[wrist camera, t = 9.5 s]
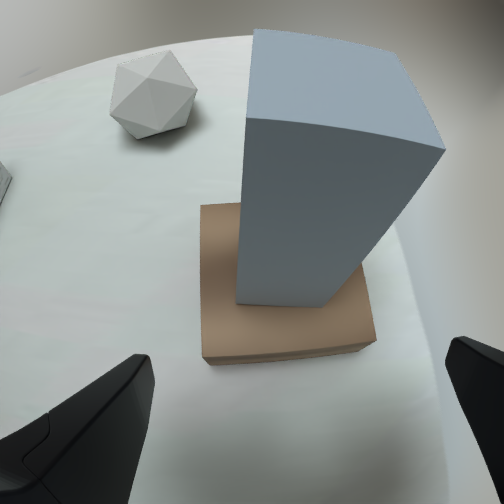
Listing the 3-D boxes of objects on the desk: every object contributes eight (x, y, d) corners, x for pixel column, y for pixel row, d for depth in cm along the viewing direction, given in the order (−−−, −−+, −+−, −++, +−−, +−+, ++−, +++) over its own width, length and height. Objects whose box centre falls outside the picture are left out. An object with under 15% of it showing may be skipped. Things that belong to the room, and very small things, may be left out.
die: (196, 97, 34) (138, 42, 27) (231, 97, 27) (159, 25, 21) (149, 151, 34) (85, 99, 27) (172, 164, 27) (90, 95, 21)
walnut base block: (355, 352, 21) (376, 340, 17) (210, 365, 21) (202, 357, 17) (333, 228, 26) (345, 198, 22) (207, 235, 25) (200, 205, 22)
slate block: (322, 307, 18) (446, 149, 7) (235, 303, 18) (245, 117, 7) (318, 232, 21) (395, 53, 9) (240, 226, 20) (254, 28, 9)
